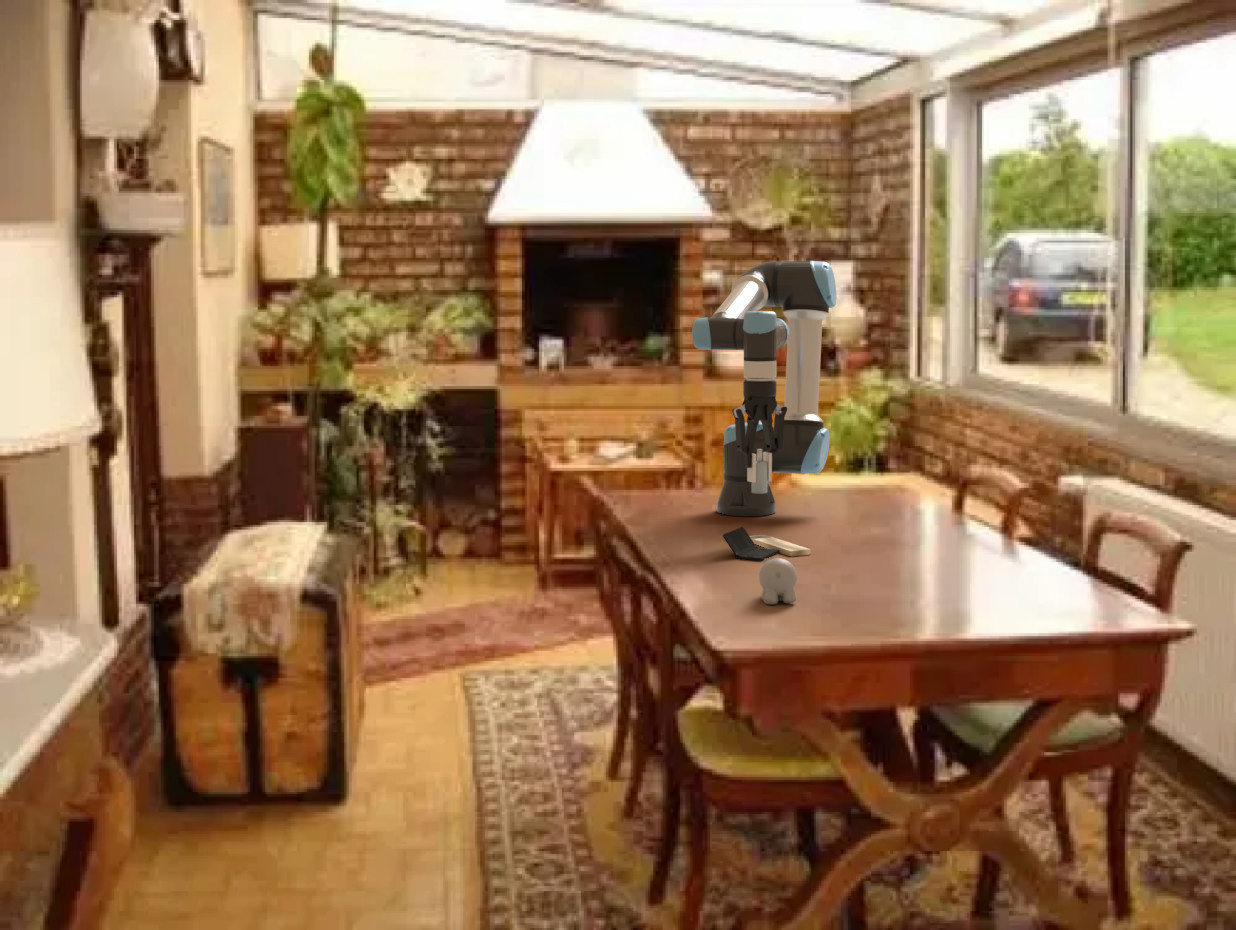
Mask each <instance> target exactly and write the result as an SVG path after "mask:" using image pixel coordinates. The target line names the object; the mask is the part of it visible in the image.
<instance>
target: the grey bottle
mask: <svg viewBox="0 0 1236 930" xmlns="http://www.w3.org/2000/svg"><path fill="white" fill-rule="evenodd" d="M752 493H757V494H763V493H767V462H765V461H762V449H757V461H756V482H755V483H753V482H752Z"/></svg>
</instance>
